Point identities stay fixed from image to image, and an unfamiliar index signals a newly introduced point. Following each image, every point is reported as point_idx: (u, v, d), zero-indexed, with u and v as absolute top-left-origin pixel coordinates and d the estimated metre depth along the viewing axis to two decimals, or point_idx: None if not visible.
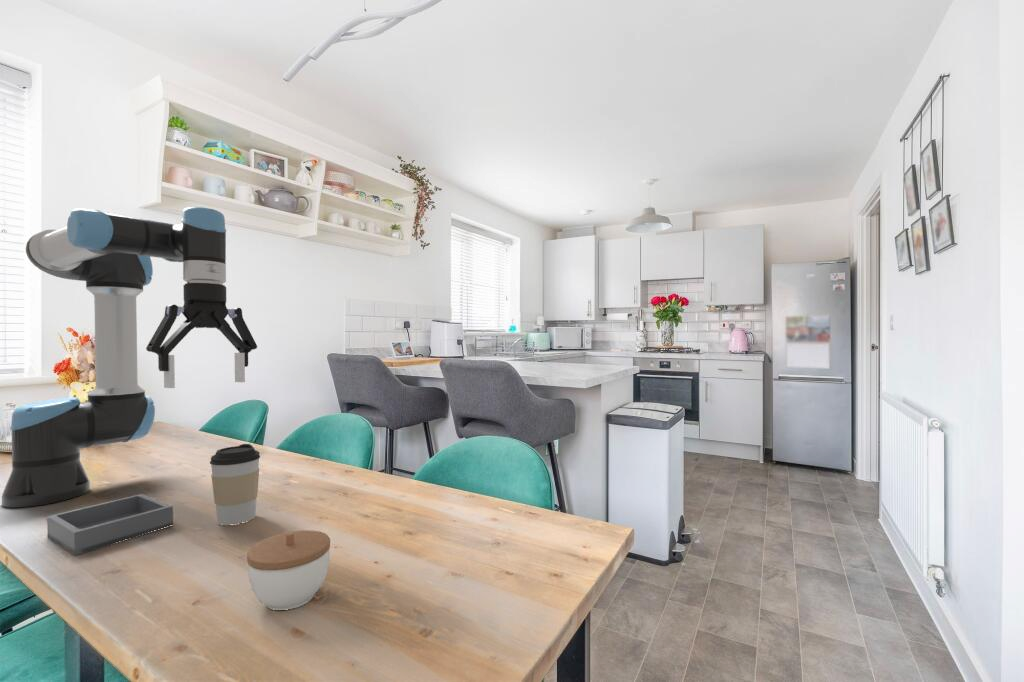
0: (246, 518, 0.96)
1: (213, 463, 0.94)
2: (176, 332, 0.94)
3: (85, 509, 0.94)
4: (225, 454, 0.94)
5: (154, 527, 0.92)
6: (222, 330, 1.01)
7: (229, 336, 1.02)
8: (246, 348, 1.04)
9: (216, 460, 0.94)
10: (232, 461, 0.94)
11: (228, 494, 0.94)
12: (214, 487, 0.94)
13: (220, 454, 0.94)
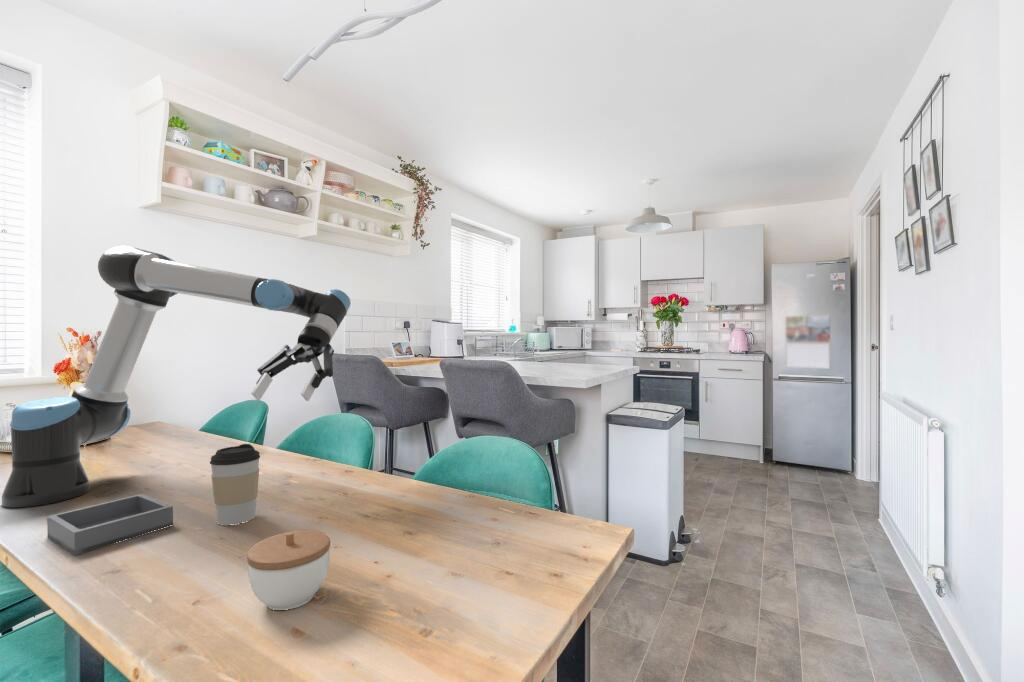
0: (246, 518, 0.96)
1: (213, 463, 0.94)
2: (318, 362, 1.18)
3: (85, 509, 0.94)
4: (225, 454, 0.94)
5: (154, 527, 0.92)
6: (289, 361, 1.20)
7: (285, 367, 1.20)
8: None
9: (216, 460, 0.94)
10: (232, 461, 0.94)
11: (228, 494, 0.94)
12: (214, 487, 0.94)
13: (220, 454, 0.94)
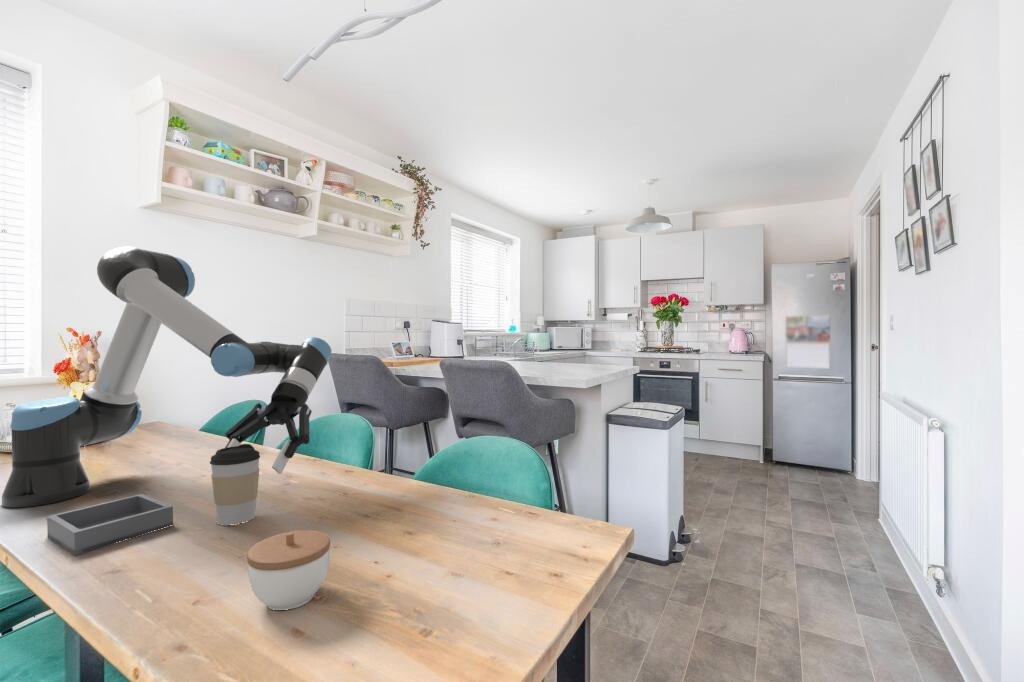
0: (246, 518, 0.96)
1: (213, 463, 0.94)
2: (293, 425, 1.06)
3: (85, 509, 0.94)
4: (225, 454, 0.94)
5: (154, 527, 0.92)
6: (261, 423, 1.08)
7: (256, 430, 1.08)
8: None
9: (216, 460, 0.94)
10: (232, 461, 0.94)
11: (228, 494, 0.94)
12: (214, 487, 0.94)
13: (220, 454, 0.94)
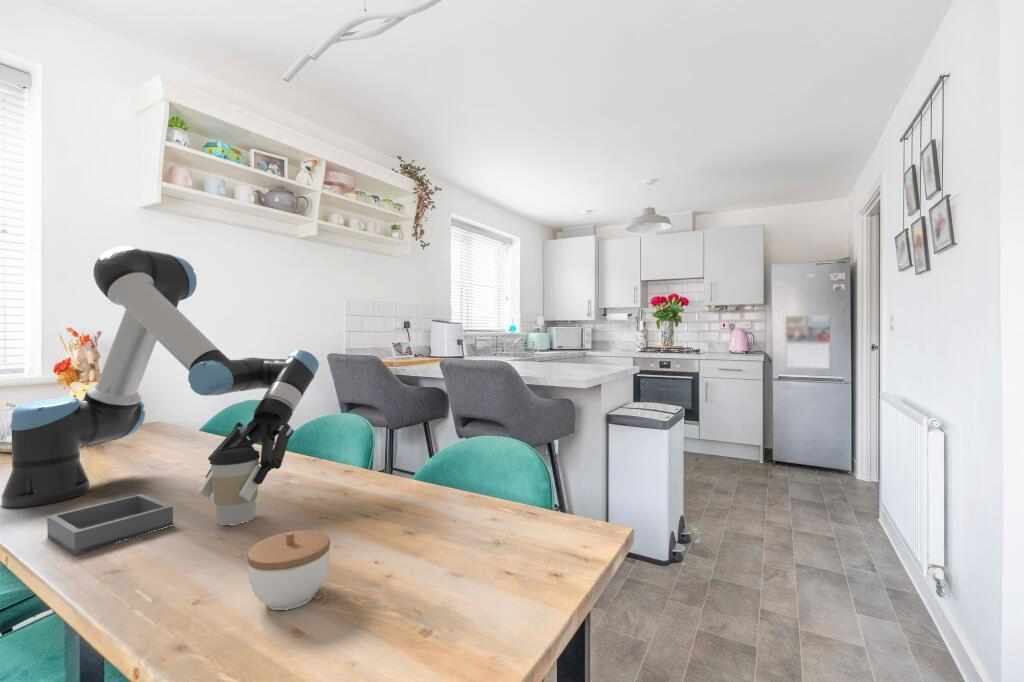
0: (246, 518, 0.96)
1: (213, 463, 0.94)
2: (269, 447, 1.01)
3: (85, 509, 0.94)
4: (225, 454, 0.94)
5: (154, 527, 0.92)
6: (245, 443, 1.03)
7: None
8: None
9: (216, 460, 0.94)
10: (232, 461, 0.94)
11: (228, 494, 0.94)
12: (214, 487, 0.94)
13: (220, 454, 0.94)
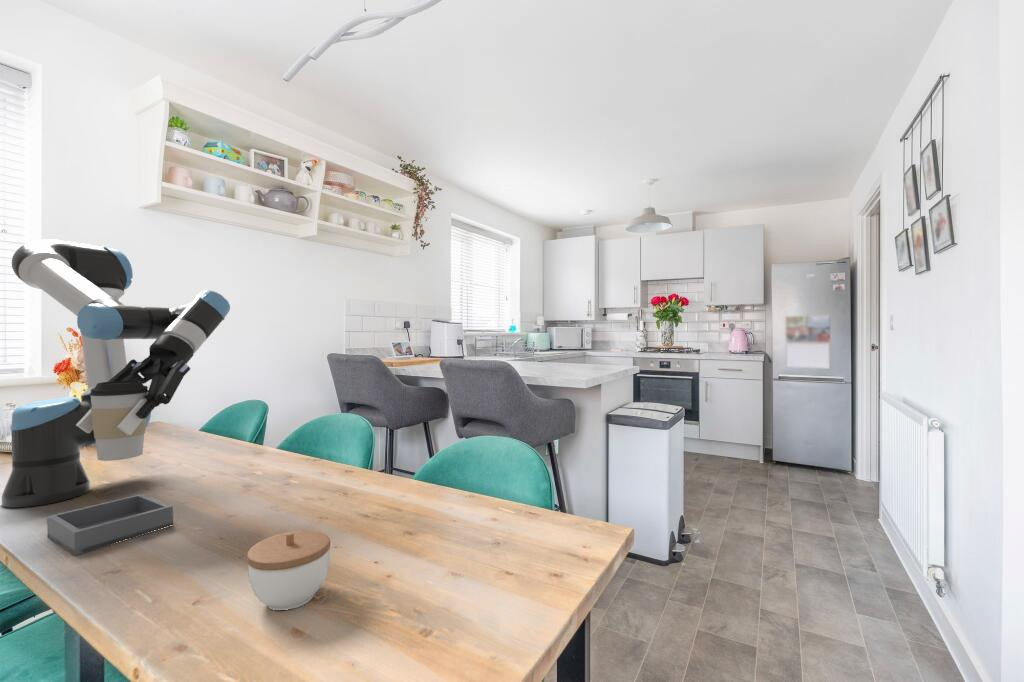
0: (129, 454, 0.91)
1: (91, 394, 0.88)
2: (160, 383, 0.96)
3: (85, 509, 0.94)
4: (105, 385, 0.89)
5: (154, 527, 0.92)
6: None
7: None
8: None
9: (94, 391, 0.88)
10: (111, 392, 0.88)
11: (107, 427, 0.88)
12: (93, 420, 0.89)
13: (99, 385, 0.89)
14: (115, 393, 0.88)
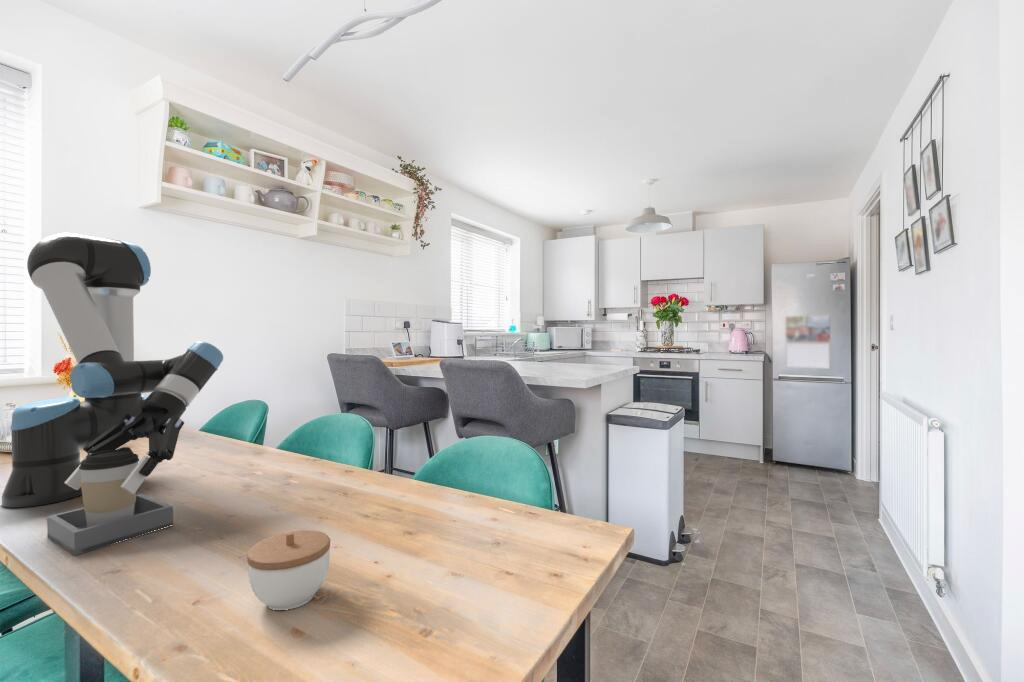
0: None
1: (81, 468, 0.88)
2: (158, 439, 0.96)
3: None
4: (94, 458, 0.89)
5: (154, 527, 0.92)
6: (126, 436, 0.98)
7: (121, 443, 0.98)
8: None
9: (84, 464, 0.88)
10: (100, 466, 0.88)
11: (96, 500, 0.88)
12: (82, 493, 0.89)
13: (89, 458, 0.89)
14: (104, 466, 0.88)
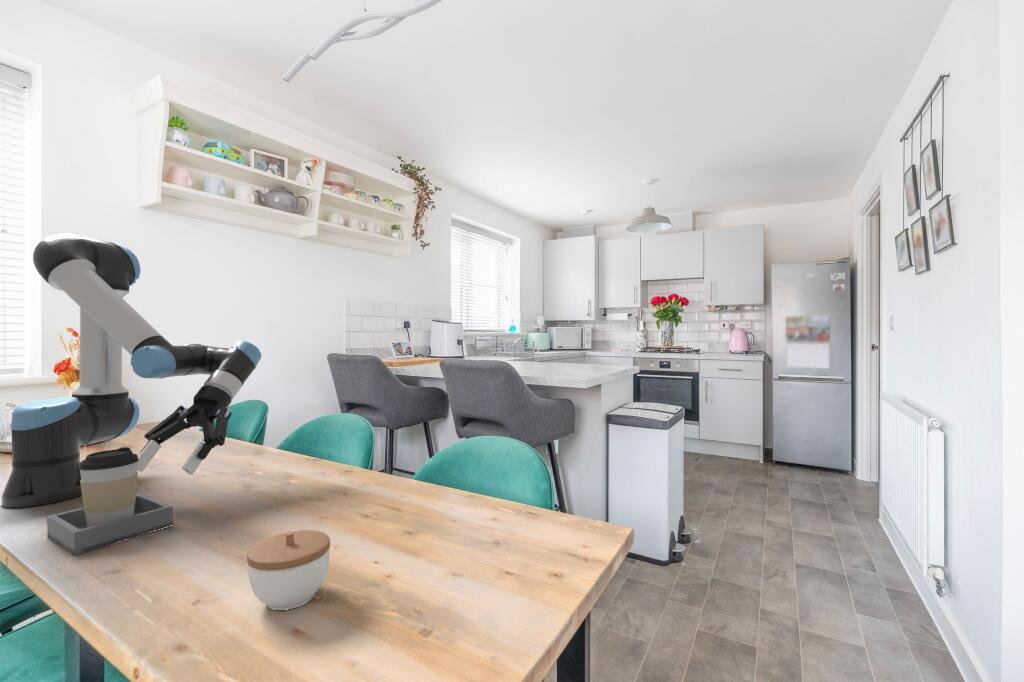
0: None
1: (80, 468, 0.88)
2: (210, 427, 1.08)
3: None
4: (93, 458, 0.89)
5: (154, 527, 0.92)
6: (181, 425, 1.11)
7: (177, 431, 1.11)
8: None
9: (83, 465, 0.88)
10: (100, 466, 0.88)
11: (96, 500, 0.88)
12: (82, 493, 0.89)
13: (88, 458, 0.89)
14: (104, 467, 0.88)
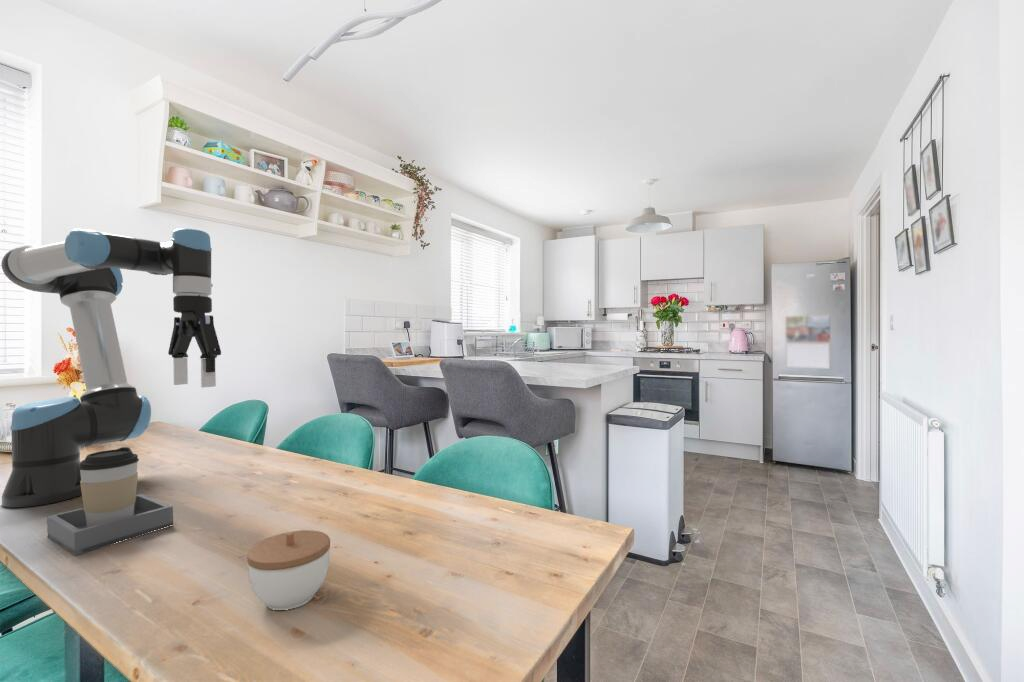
0: None
1: (80, 468, 0.88)
2: (203, 339, 1.08)
3: None
4: (93, 458, 0.89)
5: (154, 527, 0.92)
6: (186, 337, 1.13)
7: (188, 342, 1.14)
8: None
9: (83, 465, 0.88)
10: (100, 466, 0.88)
11: (96, 500, 0.88)
12: (82, 493, 0.89)
13: (88, 458, 0.89)
14: (103, 467, 0.88)
